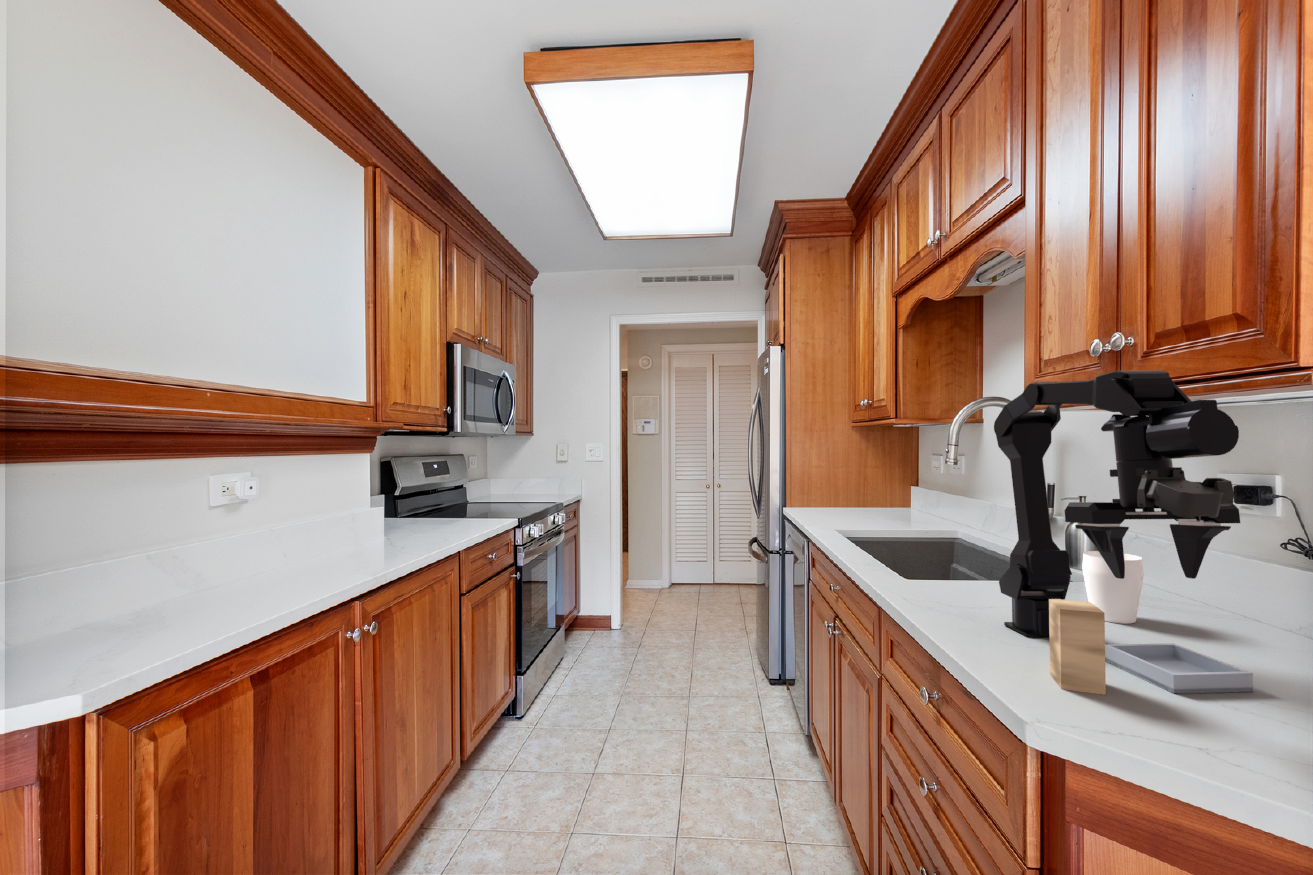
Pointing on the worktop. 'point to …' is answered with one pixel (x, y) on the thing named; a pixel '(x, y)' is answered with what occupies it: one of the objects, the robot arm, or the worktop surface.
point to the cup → (1113, 587)
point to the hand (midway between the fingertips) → (1155, 578)
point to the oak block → (1077, 646)
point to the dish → (1178, 668)
